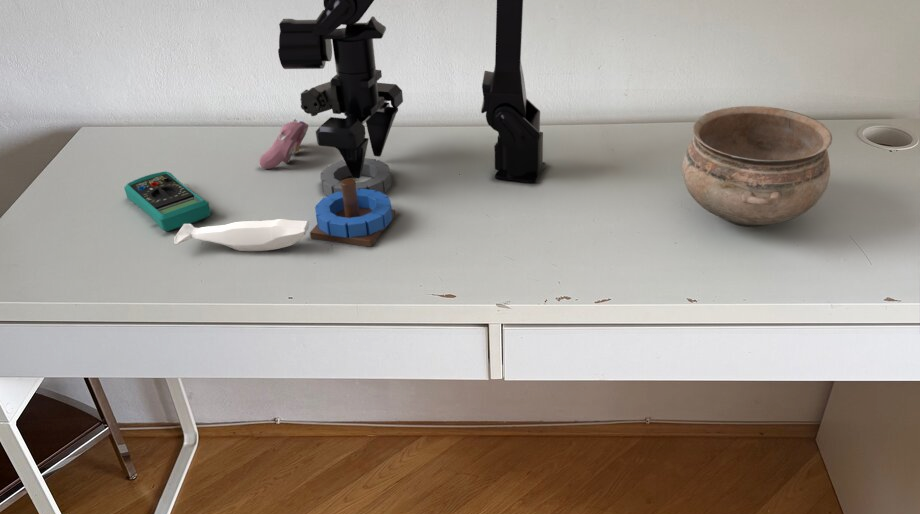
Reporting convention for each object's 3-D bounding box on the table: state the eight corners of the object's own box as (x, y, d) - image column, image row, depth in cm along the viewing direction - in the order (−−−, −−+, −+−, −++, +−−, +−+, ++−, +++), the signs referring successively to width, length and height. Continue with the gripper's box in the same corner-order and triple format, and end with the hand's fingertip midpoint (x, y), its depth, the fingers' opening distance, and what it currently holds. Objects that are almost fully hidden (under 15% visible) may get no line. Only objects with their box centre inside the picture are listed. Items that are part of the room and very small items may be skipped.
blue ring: (403, 206, 125) (401, 193, 124) (373, 241, 117) (372, 228, 116) (337, 197, 128) (335, 185, 127) (304, 231, 120) (302, 219, 119)
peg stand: (395, 215, 125) (391, 170, 121) (370, 247, 118) (364, 200, 114) (338, 208, 127) (332, 163, 123) (310, 238, 121) (302, 192, 117)
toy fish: (306, 258, 116) (301, 232, 114) (175, 257, 118) (168, 231, 116) (315, 238, 121) (311, 212, 118) (189, 236, 122) (182, 211, 120)
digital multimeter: (171, 183, 136) (166, 166, 134) (213, 217, 126) (209, 199, 125) (125, 199, 132) (120, 181, 131) (165, 235, 123) (160, 216, 121)
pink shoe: (282, 180, 139) (294, 144, 135) (255, 167, 138) (267, 130, 134) (304, 154, 147) (316, 119, 142) (279, 141, 146) (291, 106, 142)
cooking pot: (834, 266, 110) (856, 177, 103) (680, 258, 113) (691, 171, 106) (804, 176, 130) (821, 97, 123) (674, 172, 133) (683, 94, 125)
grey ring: (401, 173, 136) (400, 161, 135) (374, 204, 128) (373, 192, 127) (340, 166, 139) (338, 154, 137) (310, 196, 131) (308, 184, 130)
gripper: (333, 42, 136) (345, 137, 145) (274, 86, 122) (292, 187, 131) (399, 47, 133) (408, 144, 142) (347, 92, 119) (360, 196, 128)
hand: (367, 166), depth 136 cm, fingers open, 7 cm apart
